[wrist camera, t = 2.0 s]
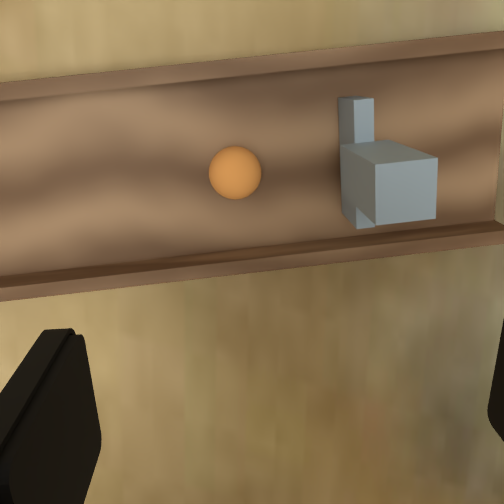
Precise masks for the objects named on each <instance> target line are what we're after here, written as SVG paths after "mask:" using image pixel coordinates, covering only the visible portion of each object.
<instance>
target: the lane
mask: <svg viewBox="0 0 504 504" xmlns="http://www.w3.org/2000/svg"><path fill="white" fill-rule="evenodd" d="M348 96H361V97H369V98H374V141H380V140H391V141H394V142H397V143H399V144H402V145H405V146H408V147H410V148H413V149H416V150H418V151H421V152H424V153H426V154H429V155H432V156H434V157H437V158H438V171H437V197H436V219H428V220H420V221H411V222H402V223H393V224H384V225H375V227H371V228H362V229H356V228H355V227H354V226H353V225H352V223H351V222H350V221H349V220H348V219H347V218H346V217H345V216H344V215H343V213H342V202H341V172H340V142H339V112H338V98H339V97H348ZM503 105H504V31H496V32H486V33H476V34H467V35H457V36H447V37H438V38H428V39H419V40H409V41H399V42H390V43H380V44H370V45H361V46H351V47H341V48H332V49H322V50H313V51H303V52H293V53H284V54H274V55H264V56H255V57H245V58H235V59H226V60H216V61H206V62H197V63H187V64H178V65H168V66H158V67H149V68H139V69H129V70H120V71H110V72H100V73H91V74H81V75H71V76H62V77H52V78H43V79H33V80H23V81H14V82H4V83H0V302H2V301H11V300H20V299H28V298H37V297H46V296H54V295H63V294H72V293H80V292H89V291H98V290H106V289H115V288H124V287H132V286H141V285H150V284H159V283H167V282H176V281H185V280H193V279H202V278H211V277H219V276H228V275H237V274H245V273H254V272H263V271H271V270H280V269H289V268H297V267H306V266H315V265H323V264H332V263H341V262H349V261H358V260H367V259H375V258H384V257H393V256H401V255H410V254H419V253H427V252H436V251H445V250H453V249H462V248H471V247H479V246H488V245H497V244H504V225H503V224H501V223H499V222H497V221H495V220H494V214H495V202H496V190H497V178H498V166H499V154H500V141H501V129H502V117H503ZM231 146H239V147H243V148H246V149H248V150H249V151H251V152H252V153H253V154H254V155H255V156H256V157H257V159H258V161H259V163H260V166H261V180H260V183H259V185H258V187H257V188H256V190H255V191H254V192H253V193H252V194H251V195H249V196H247V197H245V198H242V199H236V200H234V199H228V198H225V197H223V196H221V195H220V194H219V193H217V192H216V191H215V189H214V188H213V187H212V185H211V182H210V179H209V166H210V163H211V161H212V159H213V157H214V156H215V155H216V154H217V153H218V152H219V151H221V150H222V149H224V148H227V147H231Z"/></svg>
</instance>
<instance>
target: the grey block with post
mask: <svg viewBox="0 0 504 504" xmlns="http://www.w3.org/2000/svg"><path fill="white" fill-rule="evenodd" d="M338 112H339V142H340V172H341V202H342V213H343V215H344V216H345V217H346V218H347V219H348V220H349V221H350V222H351V223H352V225H353V226H354V227H355V228H356V229H362V228H371V227H375V225H384V224H393V223H402V222H411V221H420V220H428V219H436V197H437V171H438V158H437V157H434V156H432V155H429V154H426V153H424V152H421V151H418V150H416V149H413V148H410V147H408V146H405V145H402V144H399V143H397V142H394V141H391V140H380V141H374V98H369V97H361V96H348V97H339V98H338Z"/></svg>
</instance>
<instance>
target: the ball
mask: <svg viewBox="0 0 504 504" xmlns="http://www.w3.org/2000/svg"><path fill="white" fill-rule="evenodd" d="M209 179H210V182H211V185H212V187H213V188H214V189H215V191H216V192H217V193H219V194H220V195H221V196H223V197H225V198H228V199H234V200H236V199H242V198H245V197H247V196H249V195H251V194H252V193H253V192H254V191H255V190H256V188H257V187H258V185H259V183H260V180H261V166H260V163H259V161H258V159H257V157H256V156H255V155H254V154H253V153H252V152H251V151H249V150H248V149H246V148H243V147H239V146H231V147H227V148H224V149H222V150H221V151H219V152H218V153H217V154H216V155H215V156H214V157H213V159H212V161H211V163H210V166H209Z"/></svg>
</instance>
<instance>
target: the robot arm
mask: <svg viewBox="0 0 504 504" xmlns="http://www.w3.org/2000/svg"><path fill="white" fill-rule="evenodd" d="M488 418H489V421H490V423H491V425H492V427H493V428H494V429H495V431H496V432H497V433H498V435H499V436H500V437H501V439H502V440H503V441H504V320H503V326H502V332H501V337H500V343H499V348H498V354H497V359H496V365H495V370H494V376H493V381H492V387H491V392H490V398H489V403H488ZM100 450H101V430H100V424H99V419H98V413H97V407H96V402H95V396H94V390H93V385H92V379H91V373H90V368H89V362H88V356H87V351H86V345H85V340H84V337H83V335H82V334H81V335H76V334H75V331H74V330H73V329H72V328H68V329H50V330H44V331H43V332H42V333H41V334H40V336H39V337H38V339H37V340H36V342H35V343H34V345H33V346H32V348H31V349H30V351H29V352H28V353H27V355H26V356H25V358H24V359H23V361H22V362H21V364H20V365H19V367H18V368H17V370H16V371H15V372H14V374H13V375H12V377H11V378H10V380H9V381H8V383H7V384H6V386H5V387H4V389H3V390H2V391H1V393H0V504H84V501H85V498H86V495H87V491H88V488H89V485H90V482H91V479H92V476H93V472H94V469H95V466H96V463H97V460H98V457H99V454H100Z"/></svg>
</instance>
